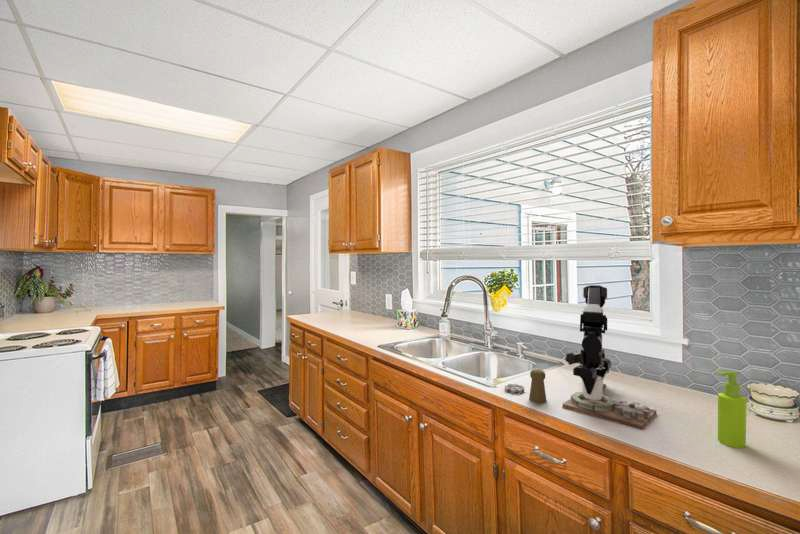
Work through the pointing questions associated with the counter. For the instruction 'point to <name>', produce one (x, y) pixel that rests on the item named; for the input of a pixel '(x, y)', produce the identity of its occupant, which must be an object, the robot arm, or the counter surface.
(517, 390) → the gear
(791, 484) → the counter surface
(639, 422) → the gear board
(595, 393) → the white cylinder
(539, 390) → the brown pepper mill
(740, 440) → the soap dispenser
